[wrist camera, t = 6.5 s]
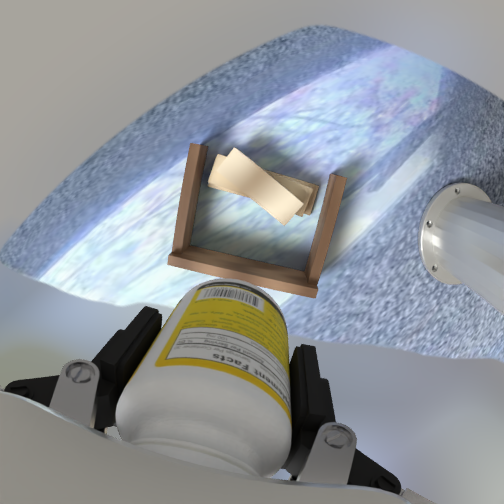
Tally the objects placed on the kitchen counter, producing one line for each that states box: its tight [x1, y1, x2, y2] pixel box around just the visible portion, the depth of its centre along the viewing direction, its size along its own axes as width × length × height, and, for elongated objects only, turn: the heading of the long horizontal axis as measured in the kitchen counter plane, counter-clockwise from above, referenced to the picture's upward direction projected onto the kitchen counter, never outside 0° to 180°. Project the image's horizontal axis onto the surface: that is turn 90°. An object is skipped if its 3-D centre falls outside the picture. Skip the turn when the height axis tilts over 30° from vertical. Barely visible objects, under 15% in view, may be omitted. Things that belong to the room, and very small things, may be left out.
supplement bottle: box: [116, 278, 292, 478], centre depth 10 cm, size 5×5×10 cm
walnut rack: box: [167, 143, 347, 298], centre depth 30 cm, size 15×12×4 cm
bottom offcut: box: [208, 157, 319, 215], centre depth 31 cm, size 11×3×1 cm, turn 75°
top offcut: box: [216, 148, 303, 226], centre depth 29 cm, size 8×3×1 cm, turn 51°
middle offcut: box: [208, 154, 313, 217], centre depth 30 cm, size 10×3×1 cm, turn 70°
